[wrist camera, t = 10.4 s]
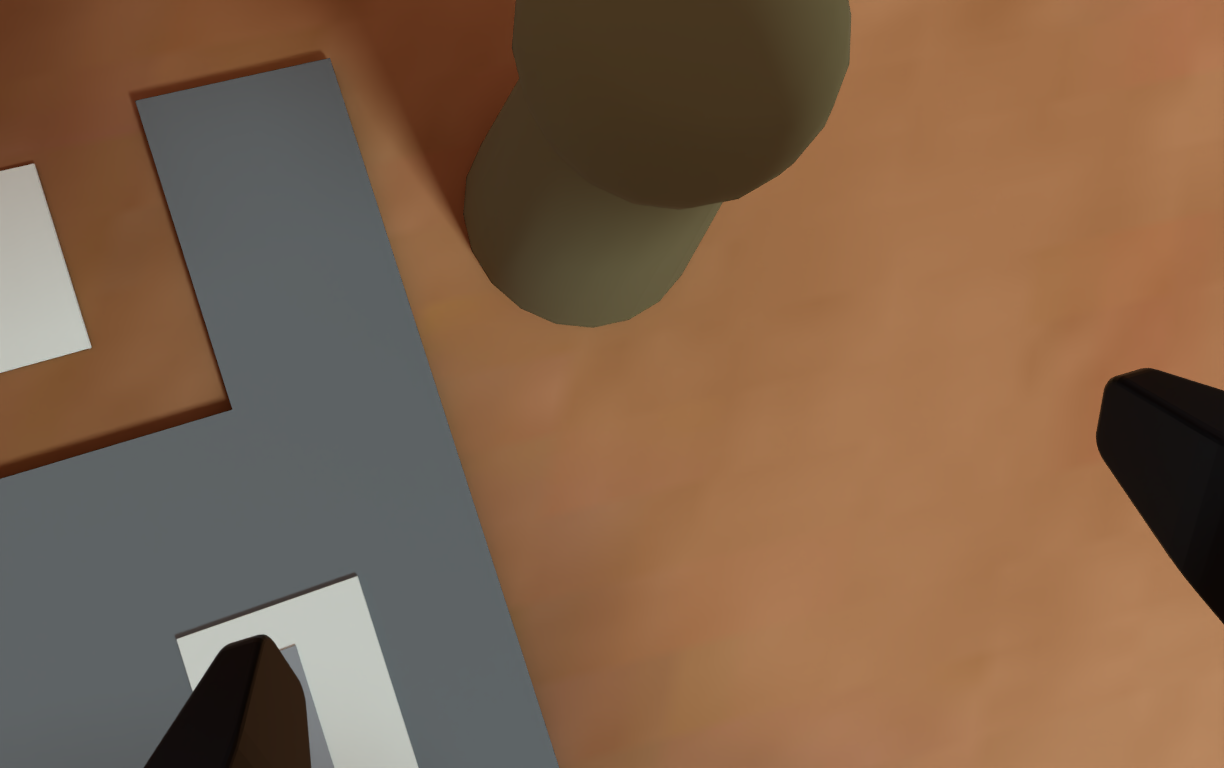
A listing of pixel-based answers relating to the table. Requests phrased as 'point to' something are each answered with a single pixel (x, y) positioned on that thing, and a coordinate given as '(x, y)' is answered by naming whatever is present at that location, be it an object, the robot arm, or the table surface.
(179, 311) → the table surface
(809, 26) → the olive green pawn
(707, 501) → the table surface
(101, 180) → the table surface
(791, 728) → the table surface
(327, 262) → the label panel
